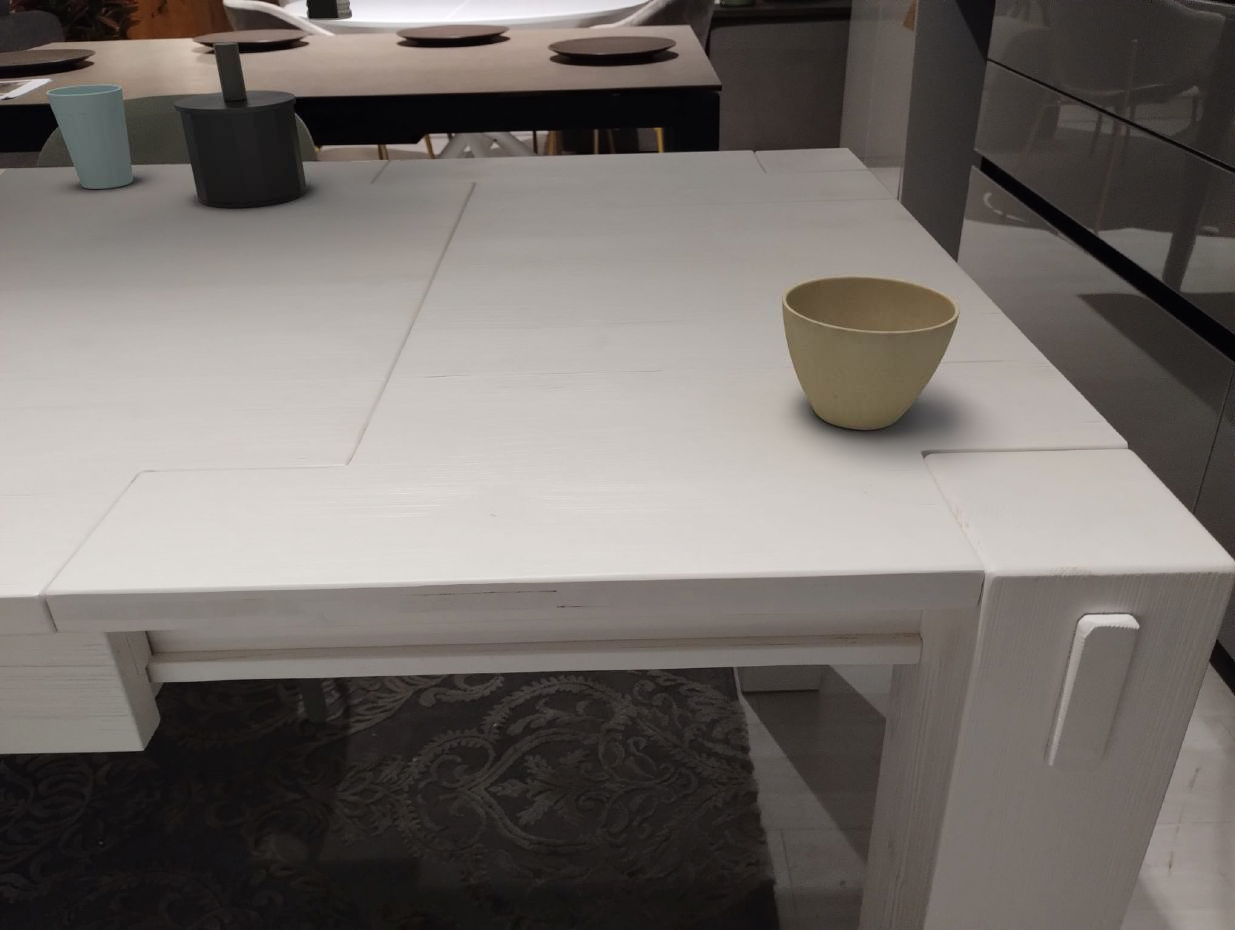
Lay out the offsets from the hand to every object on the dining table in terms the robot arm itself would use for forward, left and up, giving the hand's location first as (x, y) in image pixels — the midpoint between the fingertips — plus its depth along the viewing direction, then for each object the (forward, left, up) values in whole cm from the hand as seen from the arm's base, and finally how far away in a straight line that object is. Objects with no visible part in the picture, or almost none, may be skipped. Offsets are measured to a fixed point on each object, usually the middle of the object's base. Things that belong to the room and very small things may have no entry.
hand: (330, 15), depth 102 cm
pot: (-12, -3, -18) cm, 22 cm away
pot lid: (-12, -3, -9) cm, 15 cm away
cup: (-32, -4, -18) cm, 37 cm away
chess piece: (0, 0, 0) cm, 0 cm away
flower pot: (+60, -36, -18) cm, 72 cm away
